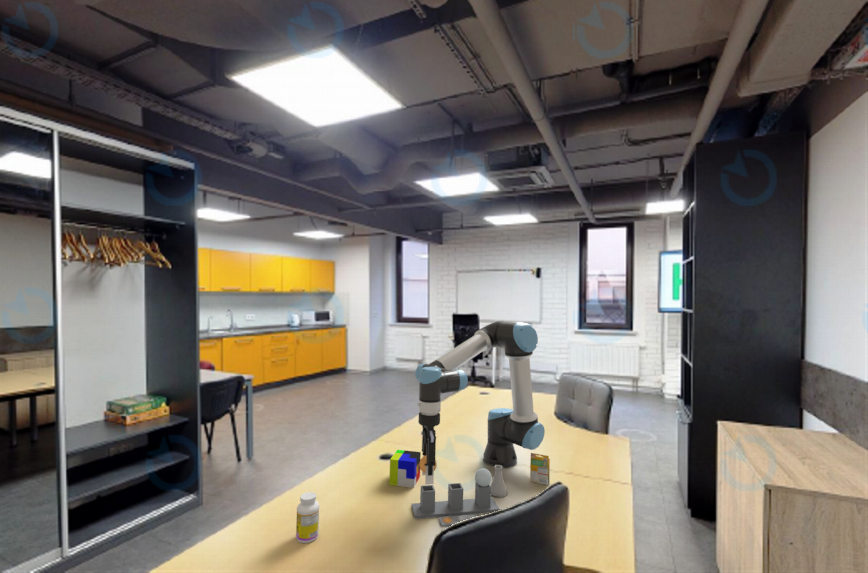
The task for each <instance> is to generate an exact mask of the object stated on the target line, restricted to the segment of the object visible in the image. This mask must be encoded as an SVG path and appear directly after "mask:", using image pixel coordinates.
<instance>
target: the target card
mask: <svg viewBox="0 0 868 573" xmlns="http://www.w3.org/2000/svg"><path fill="white" fill-rule="evenodd" d="M476 516H480V517H481V515H480V514H469V515H457V516H445V517H438V520H439V524H440V527H441V526H443V527H451V526H450V525H452V524H455V523H457V522H460V521H463V520H466V519H470V518H472V517H476ZM443 527H442V528H443Z"/></svg>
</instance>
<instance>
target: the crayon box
mask: <svg viewBox="0 0 868 573" xmlns="http://www.w3.org/2000/svg"><path fill="white" fill-rule="evenodd" d="M550 460H551V459H550V458H549V455H546V454H545V455H544V454H539V453H536V452H535V453H534V452H533V453H532V452H530V464H529V465H530V467H529V468H530V470H529V471H530V472H529V473H530V474H529V482H532V483H537V484H542V485H546V486H548V485H549V484H550V471H551V470H550V467H551V466H550V464H551V461H550Z"/></svg>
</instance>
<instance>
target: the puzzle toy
mask: <svg viewBox="0 0 868 573" xmlns="http://www.w3.org/2000/svg"><path fill="white" fill-rule="evenodd" d="M421 452H422V451H414V450H413V451H412V450H403V449H396V451H395V452H394V453H393V454H392V456H391V458H390V459H389V483H388V484H389V485H390V486H397V487H407V488H413V489H414V488H415V487H416V485H417V483H418V481H419V479H420V477H421V469H420V466H419V463H420V460H421Z"/></svg>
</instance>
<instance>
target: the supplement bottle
mask: <svg viewBox="0 0 868 573" xmlns="http://www.w3.org/2000/svg"><path fill="white" fill-rule="evenodd" d="M299 501H300V502H299V504H297V506H296V524H295V525H296V526H295V528H296V529H295V530H296V531H295V533H296V534H295V538H296V541H297V542H299V543H300V544H309V543H313V542H314V541H315V540H317V538H318V537H319V531H320V503H319V502H318V501H317V494H316V493H315V492H314V491H308V492H303V493H301V495H300V499H299Z"/></svg>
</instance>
